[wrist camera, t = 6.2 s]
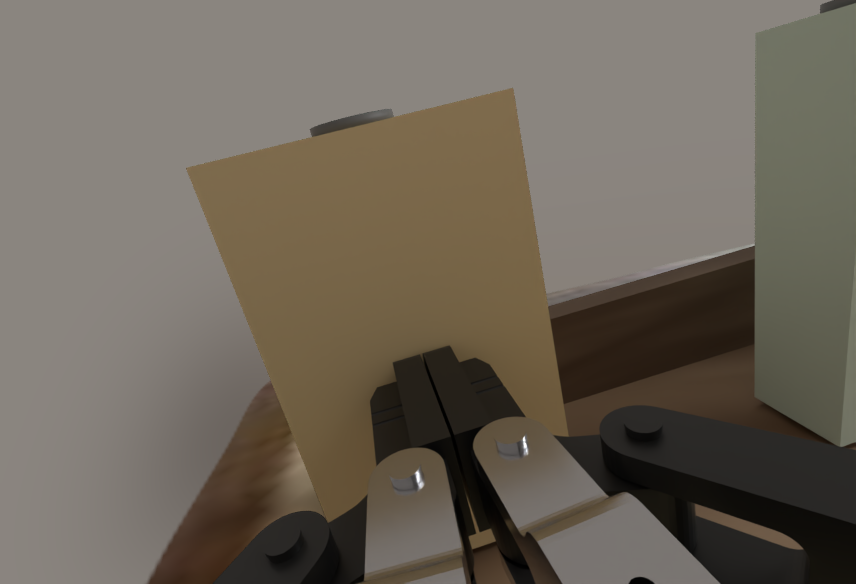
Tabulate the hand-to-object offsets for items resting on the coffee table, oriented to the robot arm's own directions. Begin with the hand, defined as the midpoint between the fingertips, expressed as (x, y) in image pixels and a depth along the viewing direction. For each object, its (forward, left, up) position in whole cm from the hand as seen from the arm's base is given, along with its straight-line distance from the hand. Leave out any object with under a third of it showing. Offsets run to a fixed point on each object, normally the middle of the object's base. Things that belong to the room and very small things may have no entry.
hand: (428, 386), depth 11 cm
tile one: (-1, -1, -6) cm, 6 cm away
